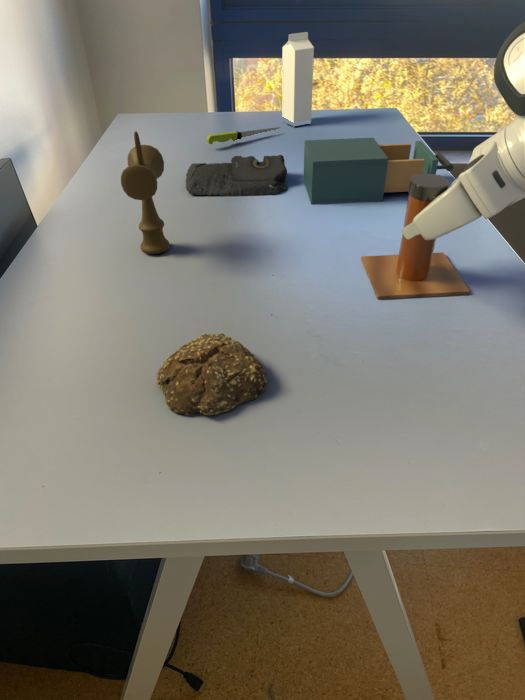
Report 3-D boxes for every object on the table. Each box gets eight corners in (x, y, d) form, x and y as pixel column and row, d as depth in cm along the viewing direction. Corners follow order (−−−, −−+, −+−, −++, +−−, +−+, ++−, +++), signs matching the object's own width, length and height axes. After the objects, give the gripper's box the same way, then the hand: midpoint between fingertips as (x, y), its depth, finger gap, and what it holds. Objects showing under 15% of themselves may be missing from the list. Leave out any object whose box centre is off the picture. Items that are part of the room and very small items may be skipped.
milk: (311, 124, 145) (315, 33, 131) (293, 128, 143) (295, 35, 128) (299, 119, 149) (301, 30, 135) (281, 122, 147) (282, 32, 132)
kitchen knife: (277, 137, 140) (278, 125, 138) (280, 138, 139) (281, 127, 138) (206, 147, 130) (206, 134, 128) (208, 148, 129) (208, 136, 127)
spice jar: (423, 263, 84) (441, 172, 74) (433, 280, 80) (454, 186, 70) (391, 265, 84) (406, 174, 74) (400, 282, 80) (416, 188, 70)
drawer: (434, 171, 114) (440, 139, 109) (452, 192, 105) (460, 158, 100) (355, 175, 113) (358, 143, 109) (366, 196, 104) (370, 162, 100)
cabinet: (368, 177, 114) (373, 137, 109) (382, 201, 104) (388, 158, 99) (303, 180, 114) (304, 140, 108) (311, 204, 104) (312, 161, 98)
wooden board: (442, 255, 87) (443, 252, 87) (469, 294, 78) (470, 291, 78) (360, 259, 87) (361, 256, 86) (377, 299, 77) (378, 296, 77)
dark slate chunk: (189, 170, 119) (187, 149, 116) (284, 167, 120) (284, 146, 117) (183, 197, 108) (180, 175, 105) (288, 194, 108) (289, 172, 105)
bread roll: (224, 338, 71) (222, 308, 68) (280, 387, 63) (280, 356, 60) (140, 376, 65) (133, 346, 62) (190, 436, 57) (184, 404, 54)
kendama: (174, 235, 94) (158, 121, 82) (170, 262, 87) (151, 140, 74) (142, 237, 94) (120, 122, 82) (134, 263, 87) (110, 142, 74)
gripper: (514, 127, 72) (433, 180, 83) (464, 173, 59) (376, 230, 70) (537, 165, 73) (454, 213, 83) (493, 219, 60) (402, 267, 71)
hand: (418, 221), depth 77 cm, fingers open, 8 cm apart
